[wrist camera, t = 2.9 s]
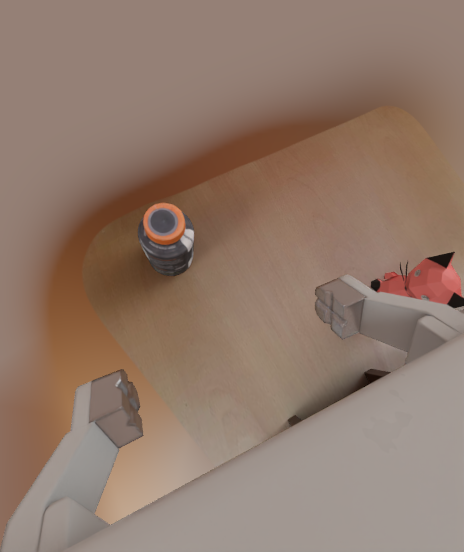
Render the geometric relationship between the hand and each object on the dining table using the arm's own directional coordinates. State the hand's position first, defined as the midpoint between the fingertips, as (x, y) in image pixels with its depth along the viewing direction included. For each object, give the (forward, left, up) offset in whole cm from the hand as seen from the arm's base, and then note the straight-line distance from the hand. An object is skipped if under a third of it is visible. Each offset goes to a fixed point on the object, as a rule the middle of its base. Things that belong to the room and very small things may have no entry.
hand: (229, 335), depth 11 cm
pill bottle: (+1, +12, -25) cm, 28 cm away
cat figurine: (+28, -6, -25) cm, 38 cm away
